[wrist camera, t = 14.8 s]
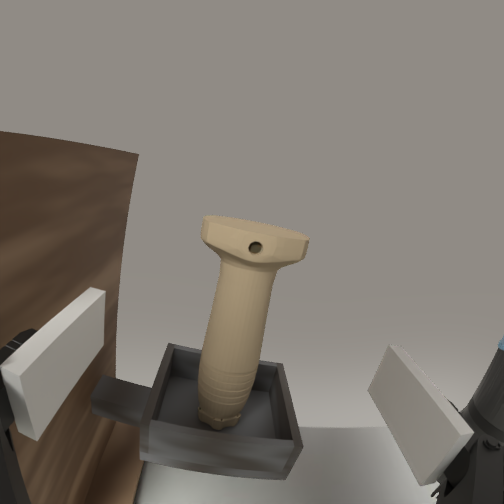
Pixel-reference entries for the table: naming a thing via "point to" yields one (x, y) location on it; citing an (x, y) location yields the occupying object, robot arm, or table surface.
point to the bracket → (111, 340)
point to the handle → (239, 310)
